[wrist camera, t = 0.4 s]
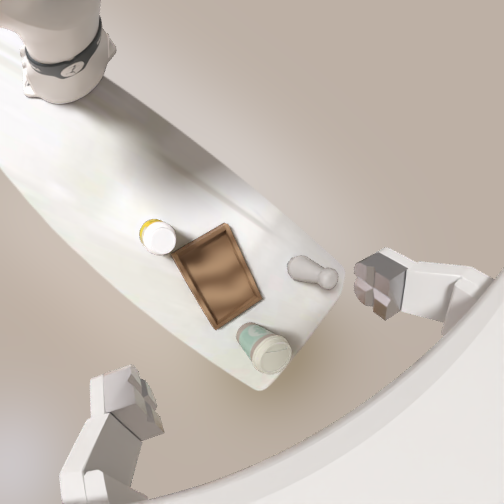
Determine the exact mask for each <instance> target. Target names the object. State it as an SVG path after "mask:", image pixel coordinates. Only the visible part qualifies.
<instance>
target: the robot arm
mask: <svg viewBox="0 0 504 504" xmlns="http://www.w3.org/2000/svg"><path fill="white" fill-rule="evenodd" d="M100 3H101V0H0V28H4V29H8V30H11V31H13V32H15V33H17V34H18V35H19V37H20V38H21V40H22V42H23V43H24V45H23V46H21V47H20V54H21V57H23V62H22V66H23V87H24V94H25V96H27V97H39V98H42V99H44V100H45V101H47V102H50V103H55V104H64V103H70V102H73V101H76V100H78V99H80V98H82V97H84V96H85V95H87V94H88V93H89V92H90V91H92V90H93V89H94V88H95V87H96V86H97V84H98V83H99V82H100V80H101V78H102V77H103V74H104V72H105V69H106V66H107V63H108V62H109V61H110V59H111V58H112V57H113V56H114V54H115V53H116V46H115V45H114V43H113V42H112V41H111V39H110V38H109V34H108V33H106V32H105V31H104V29H103V28H102V22H101V18H100V15H99V14H100ZM28 84H30V86H28ZM354 274H355V275H356V276H357V279H356V281H355V283H354V291H355V294H356V296H357V298H358V299H359V300H360V302H361V303H363V304H364V305H366V306H372V309H373V312H374V313H376V314H377V315H378V316H380V317H381V318H382V319H384V320H387V319H389V318H390V317H392V316H393V315H394V314H396V313H398V312H399V311H400V310H401V311H402V312H406V313H409V314H413V315H417V316H421V317H425V318H429V319H433V320H436V321H440V322H444V324H443V327H442V331H441V333H442V335H443V336H444V337H442V338H441V339H440V340H439V341H438V342H437V343H436V344H435V345H434V346H433V347H432V348H431V349H430V350H429V351H428V352H426V353H425V354H424V355H423V356H422V357H421V358H420V359H419V360H417V361H416V362H415V363H414V364H413V365H412V366H410V367H409V368H408V369H407V370H406V371H404V373H402V374H401V375H400V376H398V377H397V378H396V379H395V380H393V381H392V382H391V383H390V384H388V385H387V386H386V387H384V388H383V389H382V390H380V391H379V392H378V393H376V394H375V395H374V396H372V397H371V398H369V399H368V400H367V401H365V402H364V403H362V404H361V405H359V406H358V407H357V408H355V409H354V410H352V411H351V412H349V413H348V414H346V415H345V416H343V417H341V418H340V419H338V420H337V421H335V422H334V423H332V424H331V425H329V426H327V427H325V428H324V429H322V430H320V431H319V432H317V433H315V434H313V435H312V436H310V437H308V438H306V439H304V440H303V441H301V442H299V443H297V444H295V445H293V446H292V447H290V448H288V449H286V450H284V451H282V452H280V453H278V454H276V455H273V456H271V457H269V458H267V459H265V460H263V461H261V462H258V463H256V464H254V465H252V466H249V467H247V468H245V469H243V470H240V471H237V472H235V473H232V474H230V475H227V476H225V477H222V478H219V479H217V480H214V481H211V482H208V483H205V484H202V485H199V486H196V487H193V488H189V489H186V490H183V491H179V492H176V493H172V494H168V495H164V496H161V497H156V498H152V499H148V497H147V496H146V495H144V494H142V493H140V492H138V491H136V490H134V489H132V488H130V487H131V483H132V479H133V475H134V471H135V467H136V464H137V460H138V456H139V452H140V448H141V445H142V442H141V441H143V440H146V439H149V438H152V437H155V436H158V435H160V434H163V433H164V429H163V426H162V422H161V418H160V416H159V415H158V414H157V413H156V412H155V410H156V408H157V403H156V399H155V397H154V394H153V392H152V390H151V388H150V386H149V385H148V384H147V382H146V381H145V380H143V379H140V376H139V371H138V370H137V369H136V367H135V366H134V365H128V366H125V367H122V368H119V369H116V370H113V371H110V372H107V373H105V374H102V375H99V376H96V377H92V378H91V380H90V405H91V406H90V408H91V418H90V419H87V421H86V423H85V424H84V427H83V428H82V430H81V432H80V434H79V436H78V438H77V440H76V442H75V444H74V446H73V448H72V450H71V452H70V454H69V456H68V458H67V460H66V462H65V464H64V466H63V468H62V470H61V472H60V475H59V476H60V487H61V497H62V504H504V268H503V269H502V271H501V272H500V273H499V275H498V276H497V277H496V279H493V278H490V277H489V276H487V275H486V274H484V273H482V272H480V271H478V270H477V269H475V268H473V267H470V266H460V265H451V264H441V263H431V262H421V261H420V262H418V263H416V262H415V261H413V260H411V259H409V258H407V257H405V256H403V255H402V254H400V253H398V252H395V251H394V250H392V249H390V248H385V247H384V248H383V249H381V250H379V251H378V252H376V253H375V254H373V255H371V256H369V257H367V258H365V259H363V260H362V261H360V262H358V263H356V264H355V267H354Z"/></svg>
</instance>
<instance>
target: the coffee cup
mask: <svg viewBox="0 0 504 504" xmlns="http://www.w3.org/2000/svg"><path fill="white" fill-rule="evenodd" d="M236 337H237V341H238V342H239V344H240V345H241V347H242V348H243V350H244V351H245V353H246V354H247V355H248V357H249V358H250V360H251V361H252V362H253V366H254V367H255V369H256V370H258V371H260V372H262V373H265V374H275V373H278V372H280V371H281V370H283V369H284V368H285V367H286V366H287V364H288V363H289V361H290V359H291V356H292V349H291V347H290V344H289V342H288V341H287V340H286V339H285V338H284V337H283V336H279V335H276V334H274V333H272V332H270V331H268V330H266V329H264V328H263V327H261V326H259V325H257V324H255V323H252V322H249V323H246V324H244V325H242V326H241V327H240V328H239V330H238V332H237V336H236Z"/></svg>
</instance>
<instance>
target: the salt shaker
mask: <svg viewBox="0 0 504 504" xmlns="http://www.w3.org/2000/svg"><path fill="white" fill-rule="evenodd" d="M287 269H288V273H289V275H290V276H291V277H292V278H293V279H294V280H297V281H303V282H309V283H316V284H319V285H320V286H321V287H322V288H324V289H328V290H330V289H332V288H333V287H334V286H335V285H336V284H337V282H338V273H337V272H336V270H334V269H332V268H323V267H322V266H320V265H319V264H317V263H316V262H314V261H312V260H311V259H309V258H308V257H306V256H302V255H300V256H296V257H293V258H291V259H290V261H289V262H288V263H287Z"/></svg>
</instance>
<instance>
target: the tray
mask: <svg viewBox="0 0 504 504" xmlns="http://www.w3.org/2000/svg"><path fill="white" fill-rule="evenodd" d="M171 256H172V258H173V260H174V261H175V263H176V265H177V267H178V269H179V270H180V272H181V274H182V276H183V278H184V279H185V281H186V283H187V285H188V286H189V288H190V290H191V292H192V293H193V295H194V297H195V298H196V300H197V302H198V304H199V305H200V307H201V309H202V310H203V312H204V314H205V315H206V317H207V319H208V320H209V322H210V324H211V325H212V327H213V328H214V329H215V330H217V329H218V328H220V327H221V326H223V325H224V324H226V323H227V322H229V321H230V320H232V319H233V318H235V317H236V316H238V315H239V314H241V313H242V312H244V311H245V310H247V309H248V308H250V307H251V306H252V305H254V304H255V303H257V302H258V301H260V300H261V299H262V297H261V295H260V292H259V290H258V288H257V286H256V284H255V282H254V279H253V277H252V275H251V273H250V271H249V269H248V266H247V264H246V262H245V260H244V258H243V256H242V253H241V251H240V249H239V247H238V245H237V242H236V240H235V238H234V236H233V234H232V231H231V229H230V227H229V225H228V224H226V223H223V224H221V225H219V226H218V227H216V228H214V229H212V230H211V231H209V232H207V233H206V234H204V235H202V236H200V237H199V238H197V239H195V240H194V241H192V242H190V243H188V244H187V245H185V246H183V247H182V248H180V249H178V250H177V251H175V252H173V253H172V254H171Z"/></svg>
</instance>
